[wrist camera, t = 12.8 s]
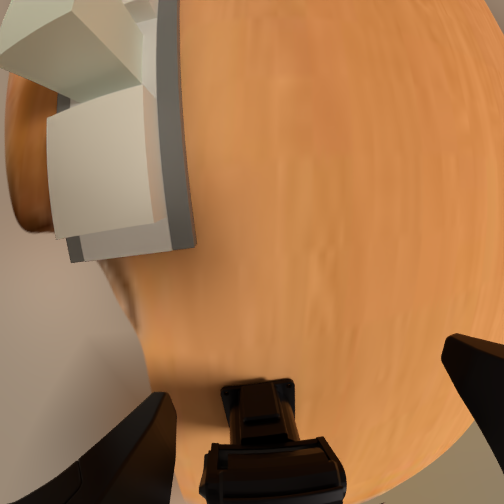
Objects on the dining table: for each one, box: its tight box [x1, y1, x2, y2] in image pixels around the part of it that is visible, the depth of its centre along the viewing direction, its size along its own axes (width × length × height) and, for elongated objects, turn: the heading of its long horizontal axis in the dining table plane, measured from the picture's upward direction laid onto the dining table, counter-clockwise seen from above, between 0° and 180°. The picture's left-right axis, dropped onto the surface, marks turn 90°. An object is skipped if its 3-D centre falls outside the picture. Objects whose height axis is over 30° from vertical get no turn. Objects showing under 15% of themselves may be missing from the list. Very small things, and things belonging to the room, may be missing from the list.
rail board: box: [47, 0, 197, 263], centre depth 13 cm, size 28×10×4 cm, turn 6°
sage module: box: [0, 0, 143, 103], centre depth 9 cm, size 5×5×10 cm
